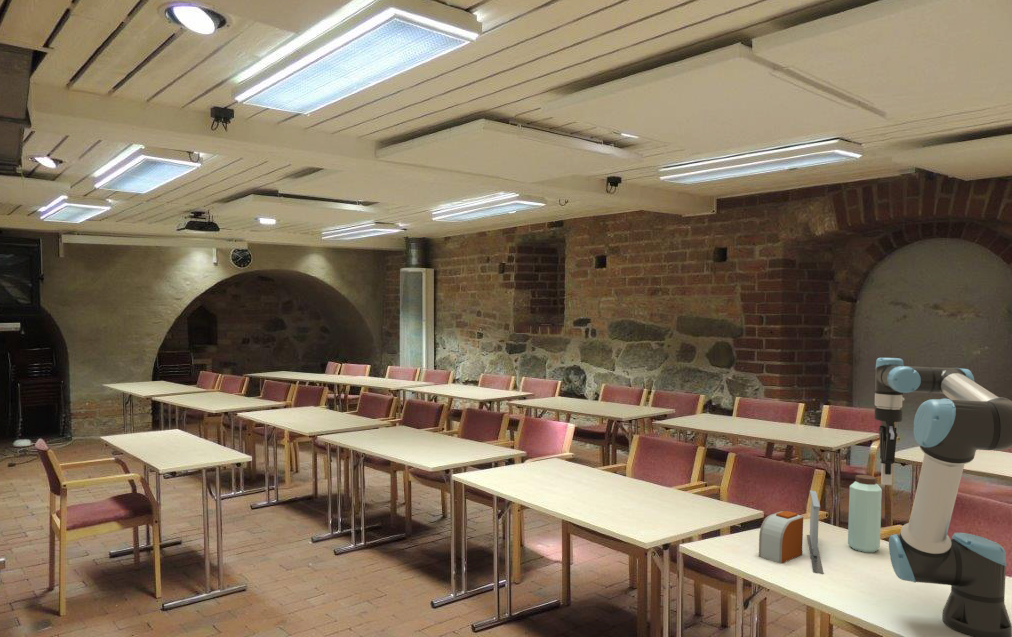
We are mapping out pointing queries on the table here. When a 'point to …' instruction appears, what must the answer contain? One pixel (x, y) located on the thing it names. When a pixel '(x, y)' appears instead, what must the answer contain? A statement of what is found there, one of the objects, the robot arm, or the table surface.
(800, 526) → the alarm clock
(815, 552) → the screen
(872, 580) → the table surface
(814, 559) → the rail
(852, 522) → the water bottle
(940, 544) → the robot arm
